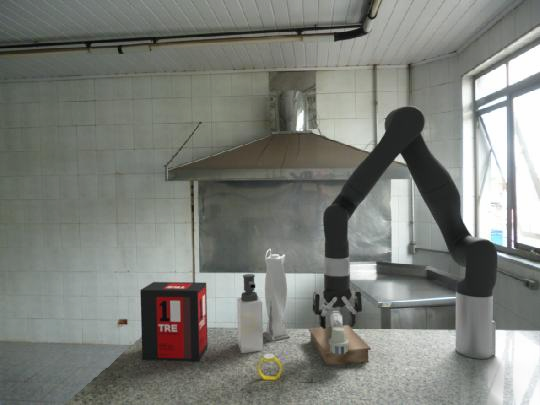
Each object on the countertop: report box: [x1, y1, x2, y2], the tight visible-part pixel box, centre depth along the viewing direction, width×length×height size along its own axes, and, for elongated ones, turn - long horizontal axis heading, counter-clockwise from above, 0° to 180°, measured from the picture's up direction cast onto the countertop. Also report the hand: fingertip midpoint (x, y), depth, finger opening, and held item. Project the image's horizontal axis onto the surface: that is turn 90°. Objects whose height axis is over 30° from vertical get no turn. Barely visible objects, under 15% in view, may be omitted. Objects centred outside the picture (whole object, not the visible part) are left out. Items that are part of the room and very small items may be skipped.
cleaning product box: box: [139, 281, 209, 363], centre depth 106 cm, size 16×9×20 cm, turn 84°
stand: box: [308, 324, 372, 366], centre depth 107 cm, size 13×17×4 cm
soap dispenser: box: [236, 273, 264, 354], centre depth 109 cm, size 6×9×22 cm
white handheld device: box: [328, 310, 349, 354], centre depth 107 cm, size 5×7×25 cm
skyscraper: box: [263, 248, 291, 343], centre depth 119 cm, size 8×8×28 cm
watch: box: [257, 353, 283, 381], centre depth 92 cm, size 6×3×6 cm, turn 84°
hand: (337, 326), depth 107 cm, fingers open, 8 cm apart
